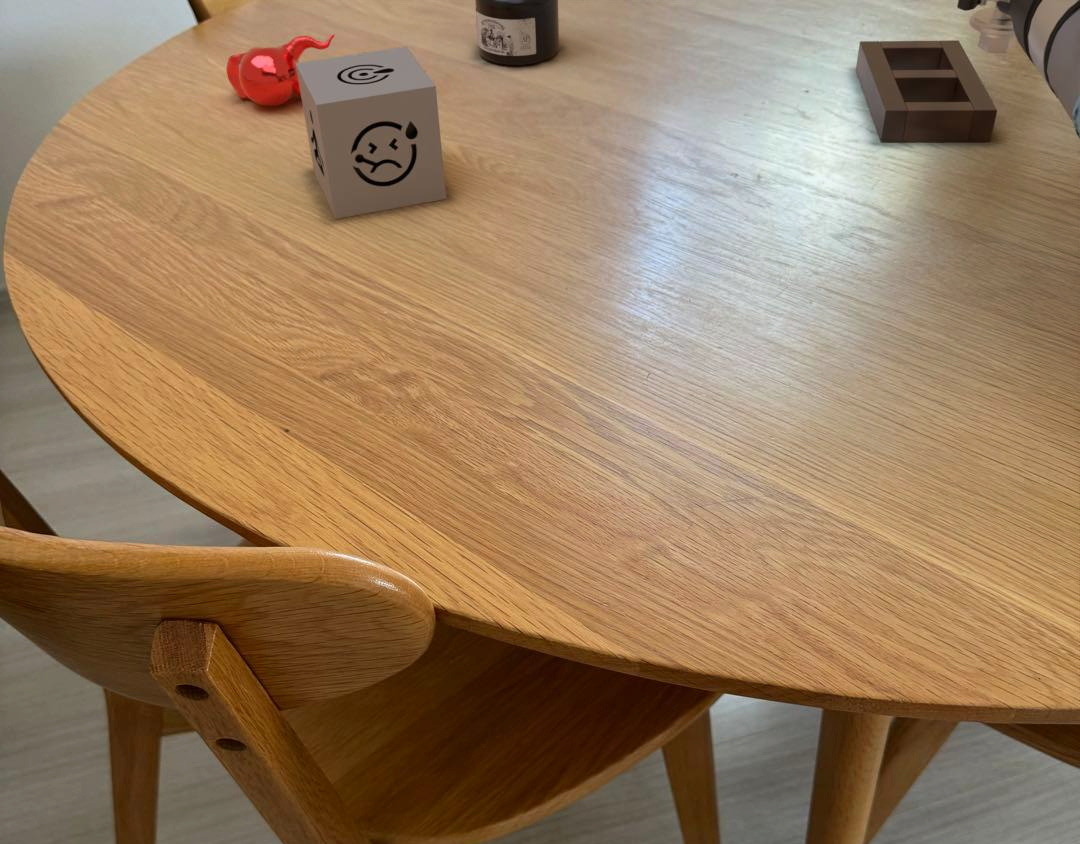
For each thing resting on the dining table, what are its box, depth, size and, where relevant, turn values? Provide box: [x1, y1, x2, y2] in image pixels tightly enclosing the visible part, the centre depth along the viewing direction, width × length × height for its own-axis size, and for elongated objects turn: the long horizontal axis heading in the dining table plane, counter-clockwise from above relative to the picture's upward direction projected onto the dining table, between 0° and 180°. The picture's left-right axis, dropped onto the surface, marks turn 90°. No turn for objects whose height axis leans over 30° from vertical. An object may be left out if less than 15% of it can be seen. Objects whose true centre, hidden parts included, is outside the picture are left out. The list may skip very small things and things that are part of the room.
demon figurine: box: [225, 33, 336, 107], centre depth 119 cm, size 8×6×12 cm
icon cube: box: [296, 46, 447, 220], centre depth 102 cm, size 10×10×10 cm
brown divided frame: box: [855, 39, 998, 143], centre depth 113 cm, size 10×18×3 cm, turn 176°
